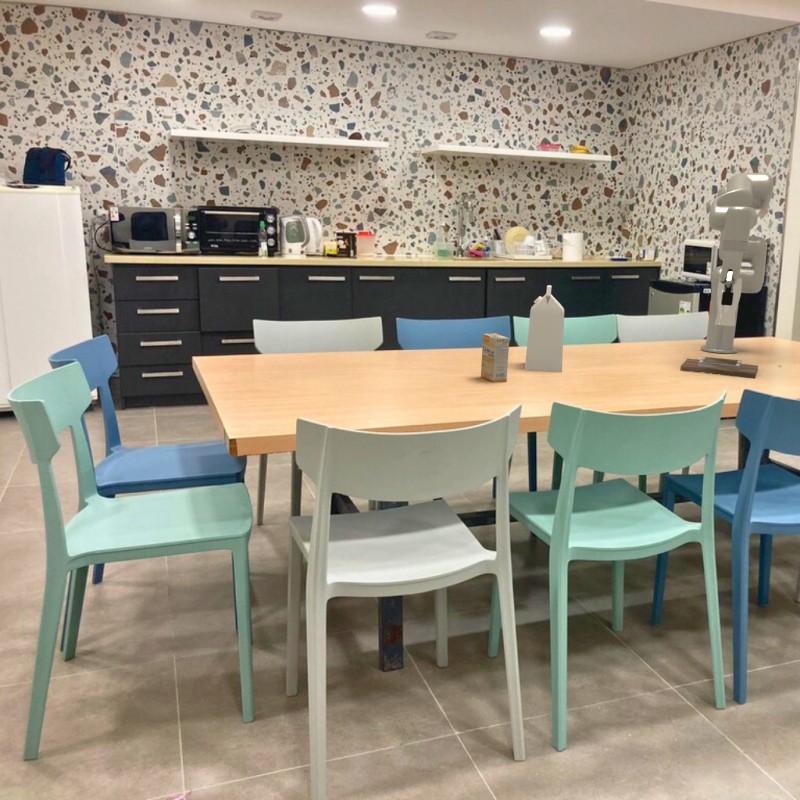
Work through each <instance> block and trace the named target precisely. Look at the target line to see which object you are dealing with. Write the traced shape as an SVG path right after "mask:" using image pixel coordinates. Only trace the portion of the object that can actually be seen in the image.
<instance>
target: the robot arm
mask: <svg viewBox="0 0 800 800" xmlns="http://www.w3.org/2000/svg"><path fill="white" fill-rule="evenodd" d="M774 185H775V184H774V178H773V177H772V175H770V173H766V172H740V173H739V172H738V173H735V174H734V175H732V176H731V177H730V178H729V179H728V180H727V183H726V185H724V186H721V187H720V188H719V189H718V191H717V194H716V195H717V197H716V198H715V199H714V200H713V201H712V203H711V205H710V209H709V212H708V213H709V215H708V225H709V228H711V229H712V230H715V231H720V237H719V245H718V258H719V259H720V260H721V261H722V265H719V266H717V267H714V269H713V270H712V272H711V276H710V279H711V280H710V283H711V291H710V293H711V295H710V296H711V297H710V305H709V306H710V307H709V314H708V322H707V323H708V324H707V330H706V332H707V333H706V338H705V339H706V340H705V344H704V345H701V346H700V350H701V351H704V352H709V353H715V354H735V353H737V352H738V349H737V348H736V347H734V342H735V341H734V340H735V336H736V335H735V333H736V325H737V319H738V312H739V311H738V310H739V305H738V306H737V309H736V313H735V326H722V325H716V324H715V321H716V318H717V313H718V306H717V290H718V284H719V279H720V283H722V281H724V280H725V283H724V290H723V293H722V301H721V305H729V306H731V305H732V302H733V294H734V293H733V288H734V284H736V283H737V280H738V278H742V288H741V294H743V293H744V294H757V293H759V292H760V291H761V290H762V287H763V285H764V279H765V278H764V277H765V270H766V259H767V252H768V251H767V247H768V246H767V240H766V239H765V238H764V237H762V236H757V235H750V233H751V230H752V229H754V228H755V226H756V225H757V223H758V215H759V214H758V212H757V210H758V211H761V210H765V209H767V208H768V207H769V206H770V205H769V204H770V203H771V199H772V195H773V193H774ZM742 263H746V264H748V263H749V264H750V266H746V265H745V266H744V265H743V266H742ZM720 277H721V278H720ZM726 279H727V281H726ZM731 280H733V282H731ZM731 287H732V288H731Z"/></svg>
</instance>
